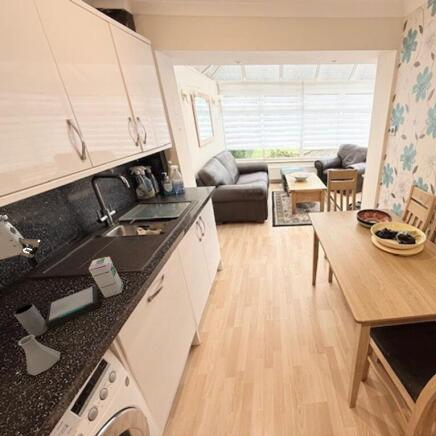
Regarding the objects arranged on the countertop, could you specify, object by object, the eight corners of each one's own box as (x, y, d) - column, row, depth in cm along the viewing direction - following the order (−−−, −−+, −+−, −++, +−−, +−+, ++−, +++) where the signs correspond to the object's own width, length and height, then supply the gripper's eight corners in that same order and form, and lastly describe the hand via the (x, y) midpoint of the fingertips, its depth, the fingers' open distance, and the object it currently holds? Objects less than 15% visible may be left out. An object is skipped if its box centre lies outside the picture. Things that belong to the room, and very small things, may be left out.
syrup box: (122, 292, 94) (107, 262, 88) (104, 298, 92) (87, 268, 86) (123, 284, 99) (109, 255, 93) (106, 289, 96) (91, 260, 90)
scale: (49, 328, 80) (44, 322, 79) (52, 308, 89) (48, 302, 87) (99, 306, 88) (96, 300, 87) (97, 290, 96) (94, 284, 95)
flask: (24, 367, 68) (4, 343, 64) (57, 347, 73) (40, 324, 69) (31, 381, 64) (9, 357, 60) (64, 358, 70) (47, 335, 65)
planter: (31, 331, 80) (14, 308, 75) (49, 323, 82) (33, 301, 78) (30, 339, 77) (11, 316, 72) (48, 331, 79) (32, 308, 75)
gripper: (27, 211, 74) (55, 257, 81) (-55, 227, 66) (-17, 276, 74) (18, 219, 68) (48, 268, 75) (-75, 238, 60) (-30, 290, 68)
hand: (16, 272), depth 74 cm, fingers open, 9 cm apart
